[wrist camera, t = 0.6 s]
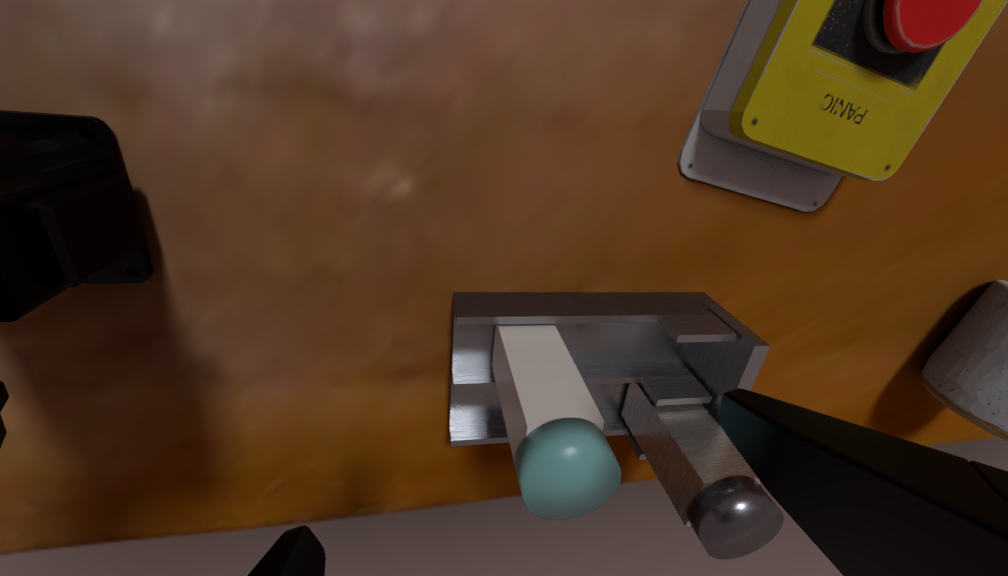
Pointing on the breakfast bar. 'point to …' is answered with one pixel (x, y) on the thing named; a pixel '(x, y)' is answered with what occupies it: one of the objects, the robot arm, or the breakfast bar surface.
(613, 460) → the plunger
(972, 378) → the ceramic mug
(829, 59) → the emergency button
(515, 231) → the breakfast bar surface
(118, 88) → the breakfast bar surface
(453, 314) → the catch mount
